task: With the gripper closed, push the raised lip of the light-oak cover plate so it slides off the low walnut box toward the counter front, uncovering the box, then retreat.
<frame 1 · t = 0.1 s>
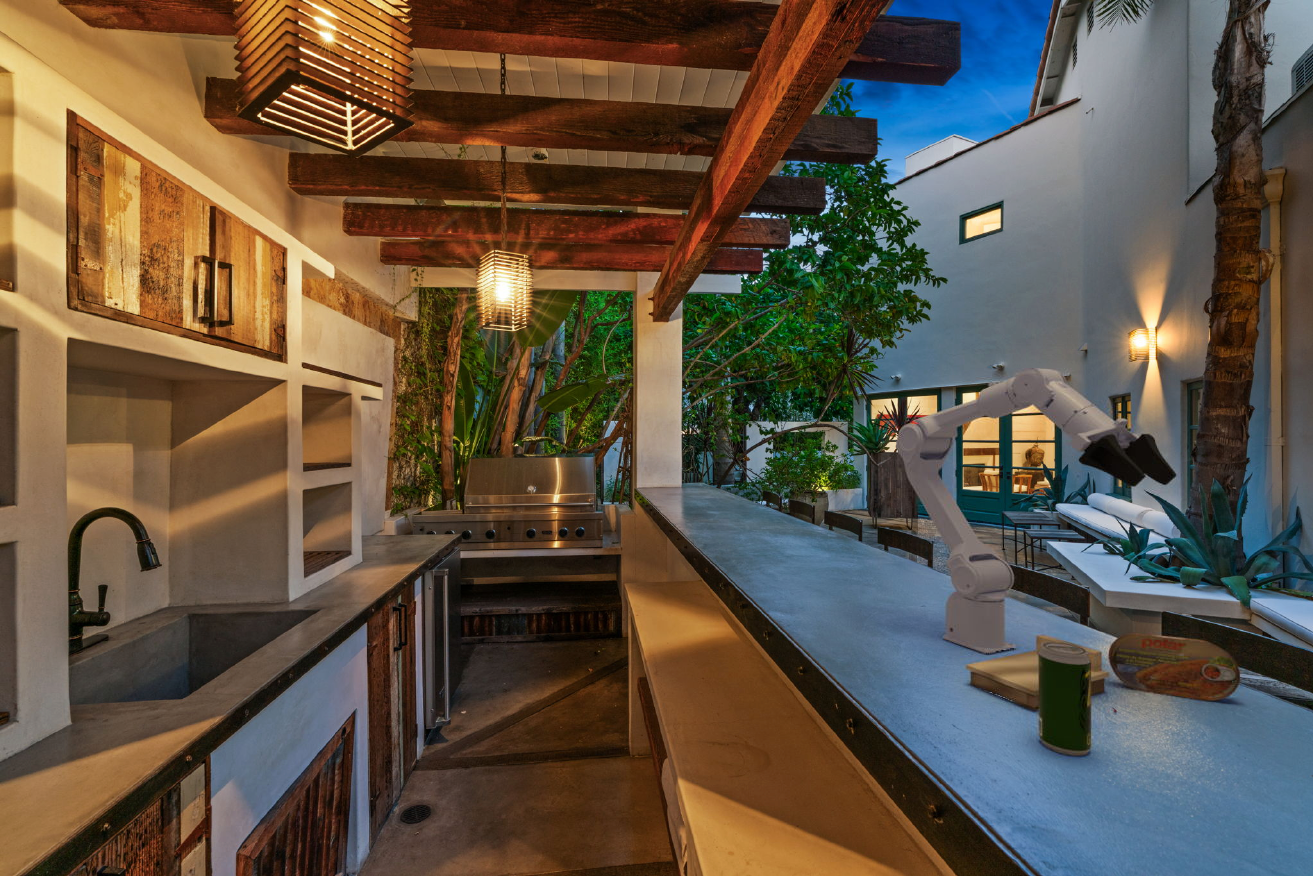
hand: (1155, 480, 87), 32 cm above the countertop, tool tilted 50°, fingers open, 7 cm apart
beer can: (1064, 747, 75), on the countertop
cover plate: (1036, 661, 92), point 4 cm above the countertop, slide at 0.0 cm
box: (1036, 688, 92), on the countertop
tin: (1170, 694, 91), on the countertop
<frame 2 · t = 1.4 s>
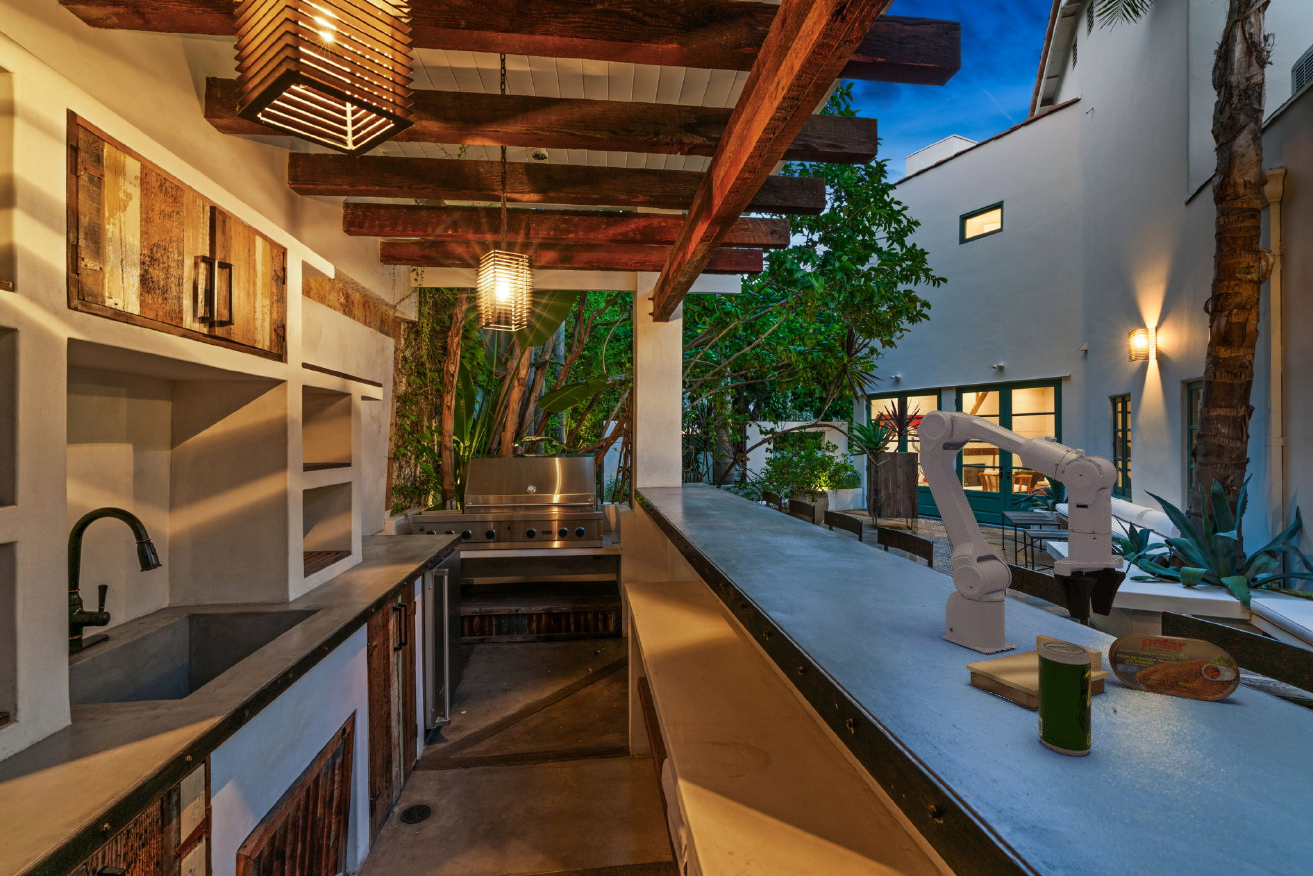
hand: (1089, 616, 98), 9 cm above the countertop, tool pointing down, fingers open, 5 cm apart
nothing on the countertop moved.
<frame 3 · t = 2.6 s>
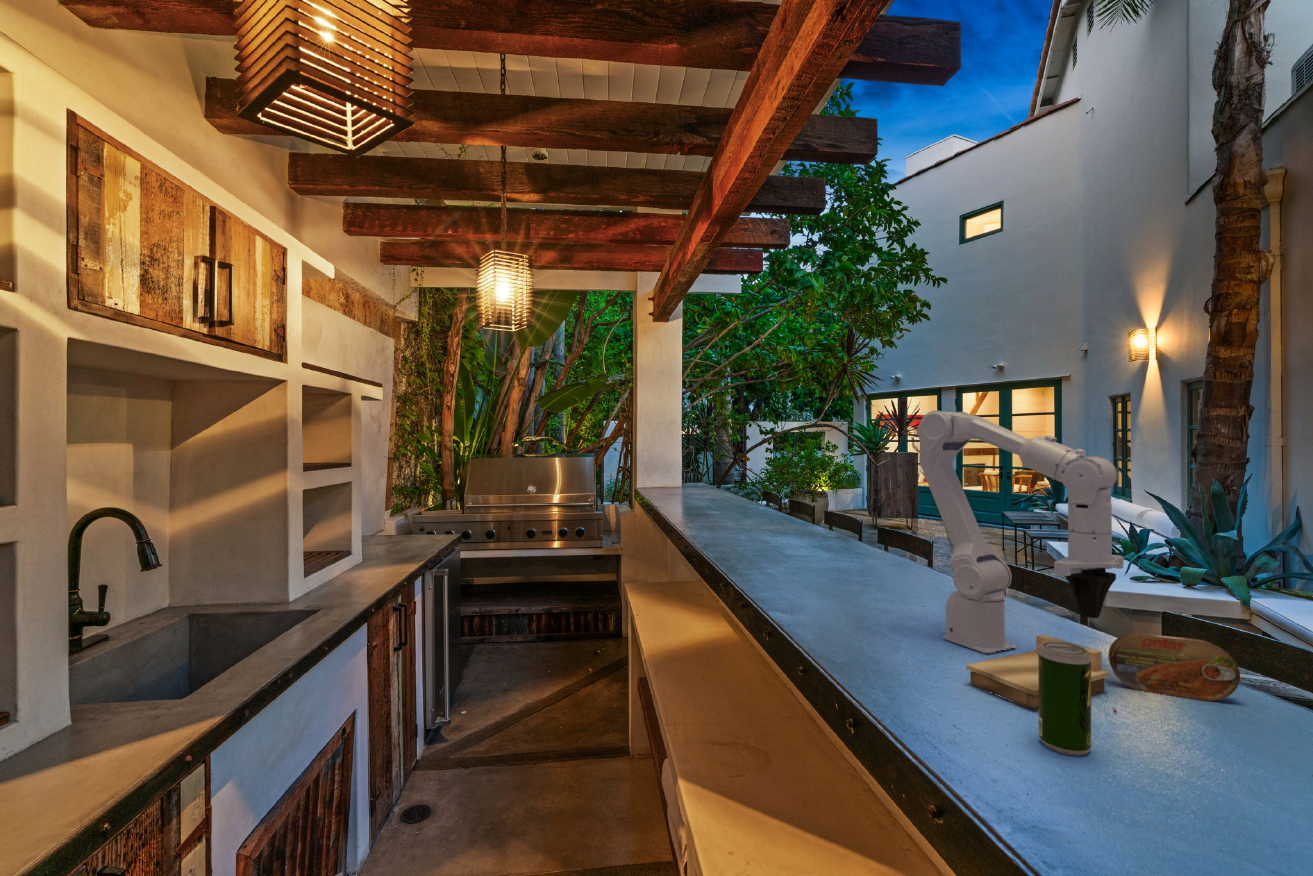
hand: (1089, 616, 98), 9 cm above the countertop, tool pointing down, fingers closed
nothing on the countertop moved.
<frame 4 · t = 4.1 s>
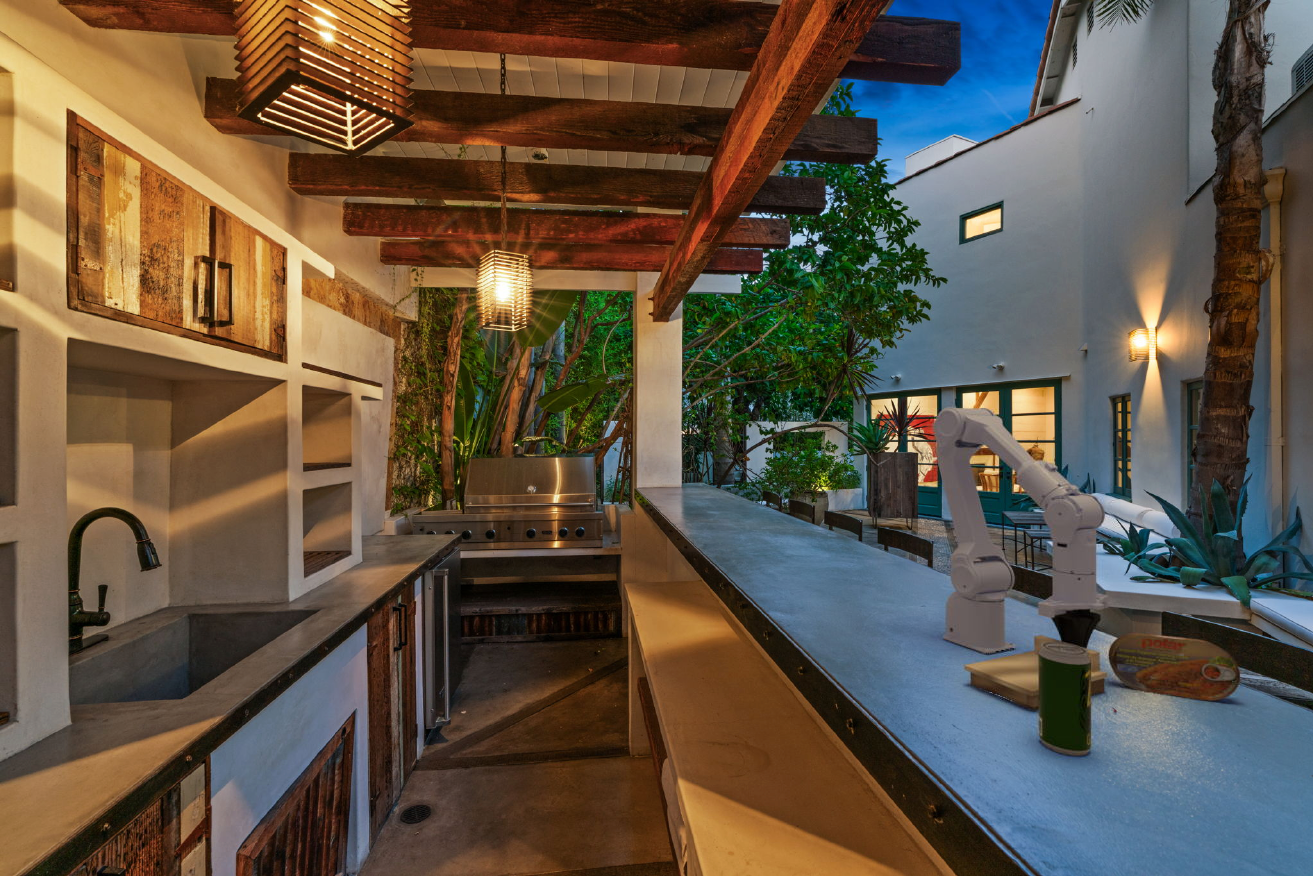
hand: (1074, 657, 96), 3 cm above the countertop, tool pointing down, fingers closed
cover plate: (1034, 662, 92), point 4 cm above the countertop, slide at 0.5 cm, touching gripper
everything else where it was.
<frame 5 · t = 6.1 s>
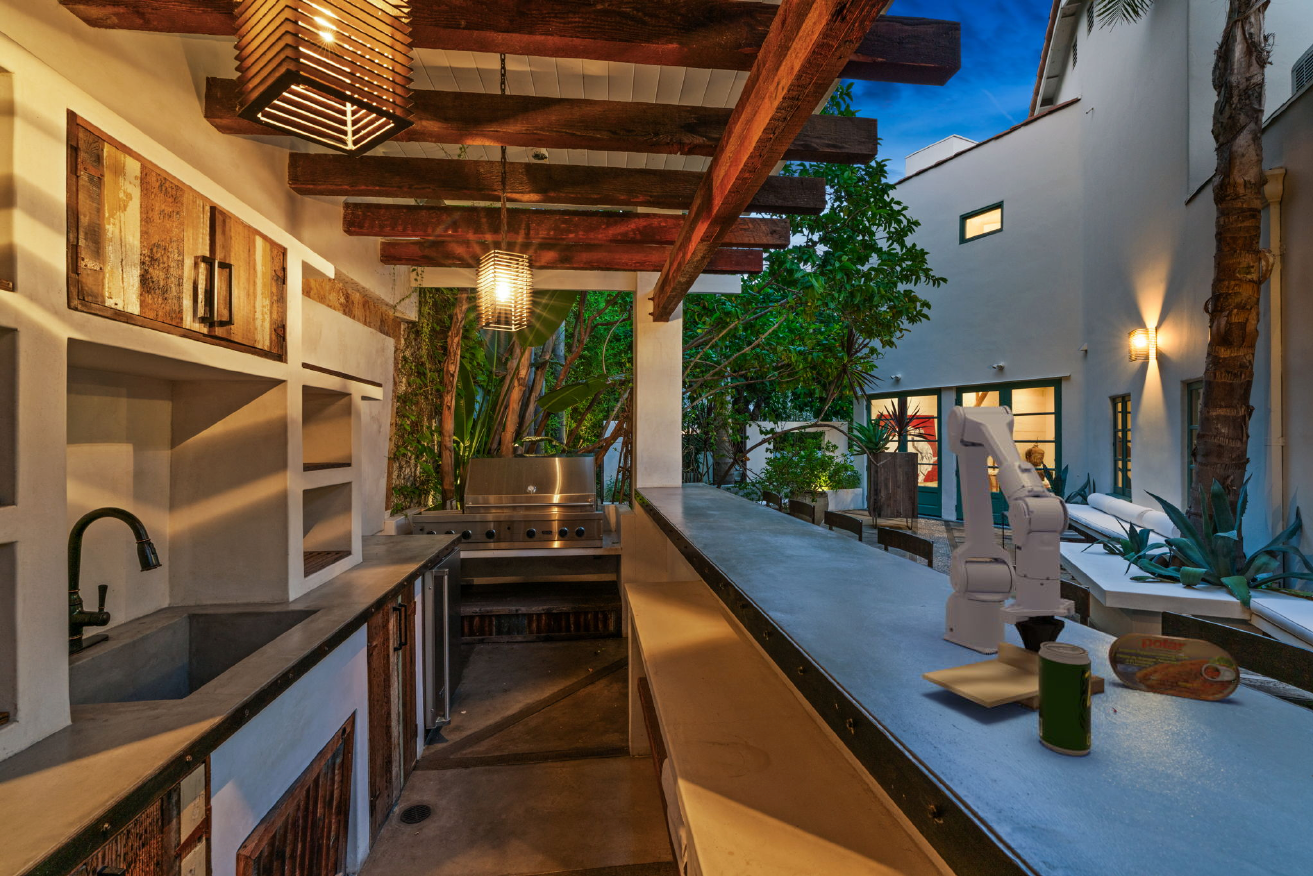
hand: (1038, 665, 92), 3 cm above the countertop, tool pointing down, fingers closed
cover plate: (994, 670, 89), point 4 cm above the countertop, slide at 9.2 cm, touching gripper
everything else where it was.
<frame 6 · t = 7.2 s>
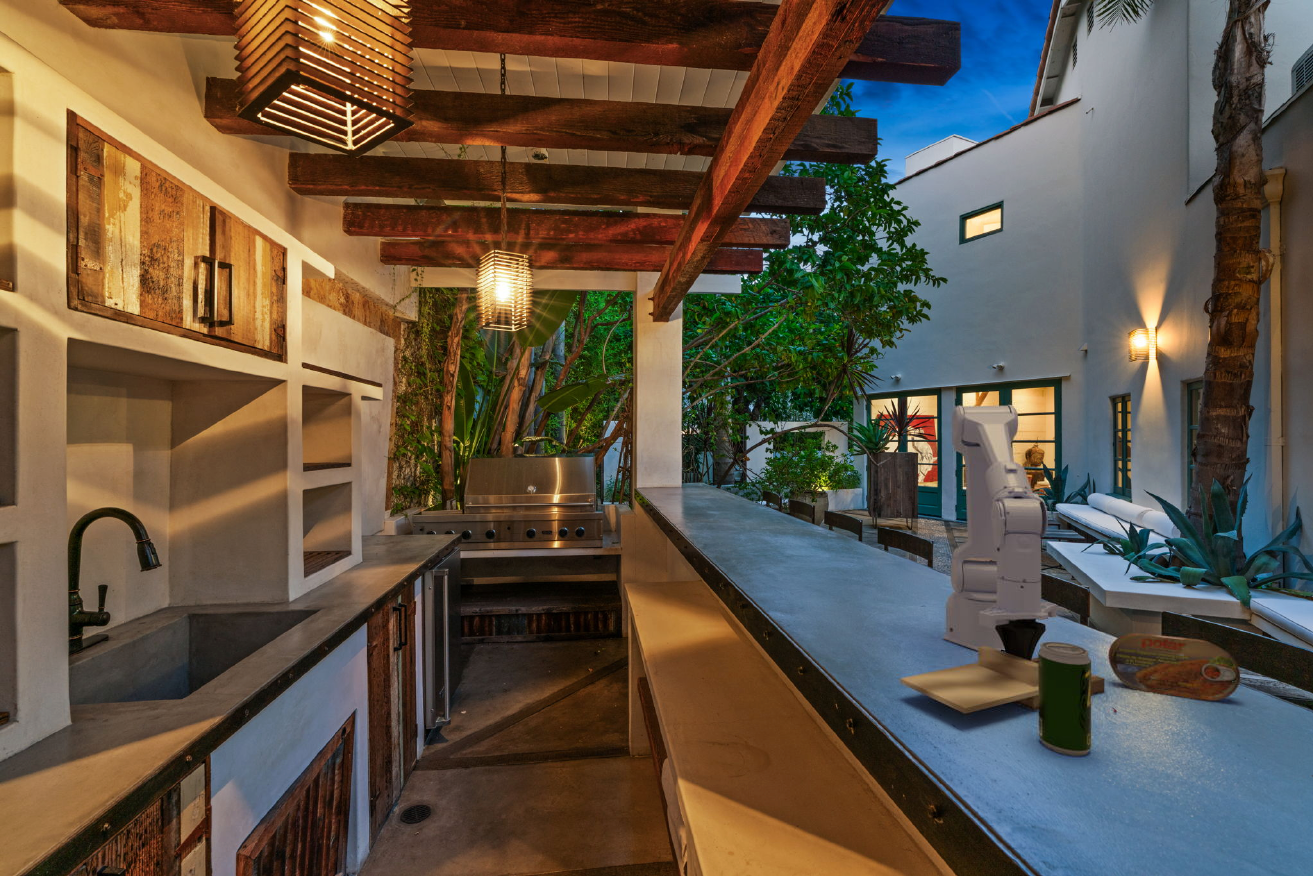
hand: (1018, 669, 91), 3 cm above the countertop, tool pointing down, fingers closed
cover plate: (973, 675, 87), point 4 cm above the countertop, slide at 13.5 cm, touching gripper
everything else where it was.
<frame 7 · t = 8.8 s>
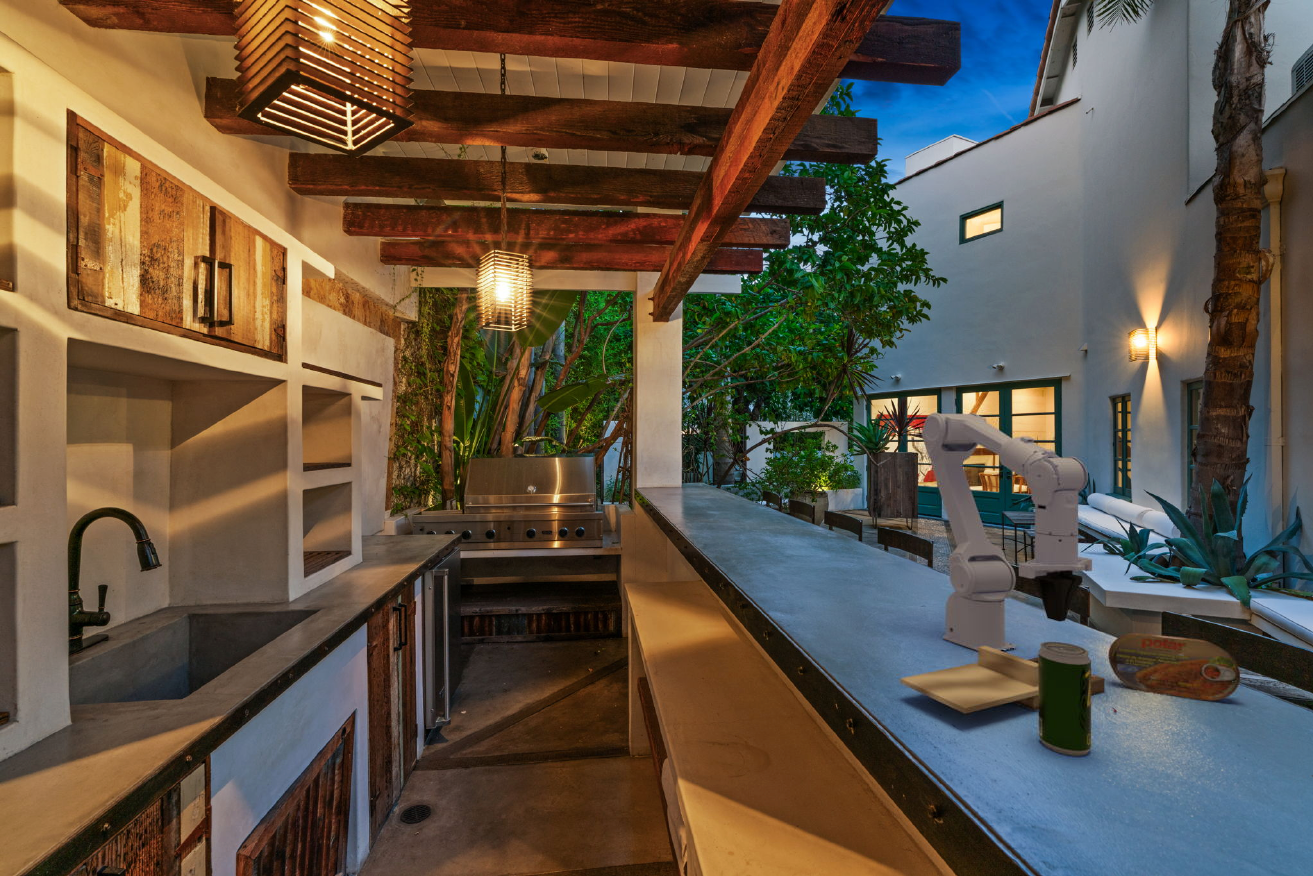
hand: (1056, 619, 96), 9 cm above the countertop, tool pointing down, fingers closed
cover plate: (973, 675, 87), point 4 cm above the countertop, slide at 13.5 cm
everything else where it was.
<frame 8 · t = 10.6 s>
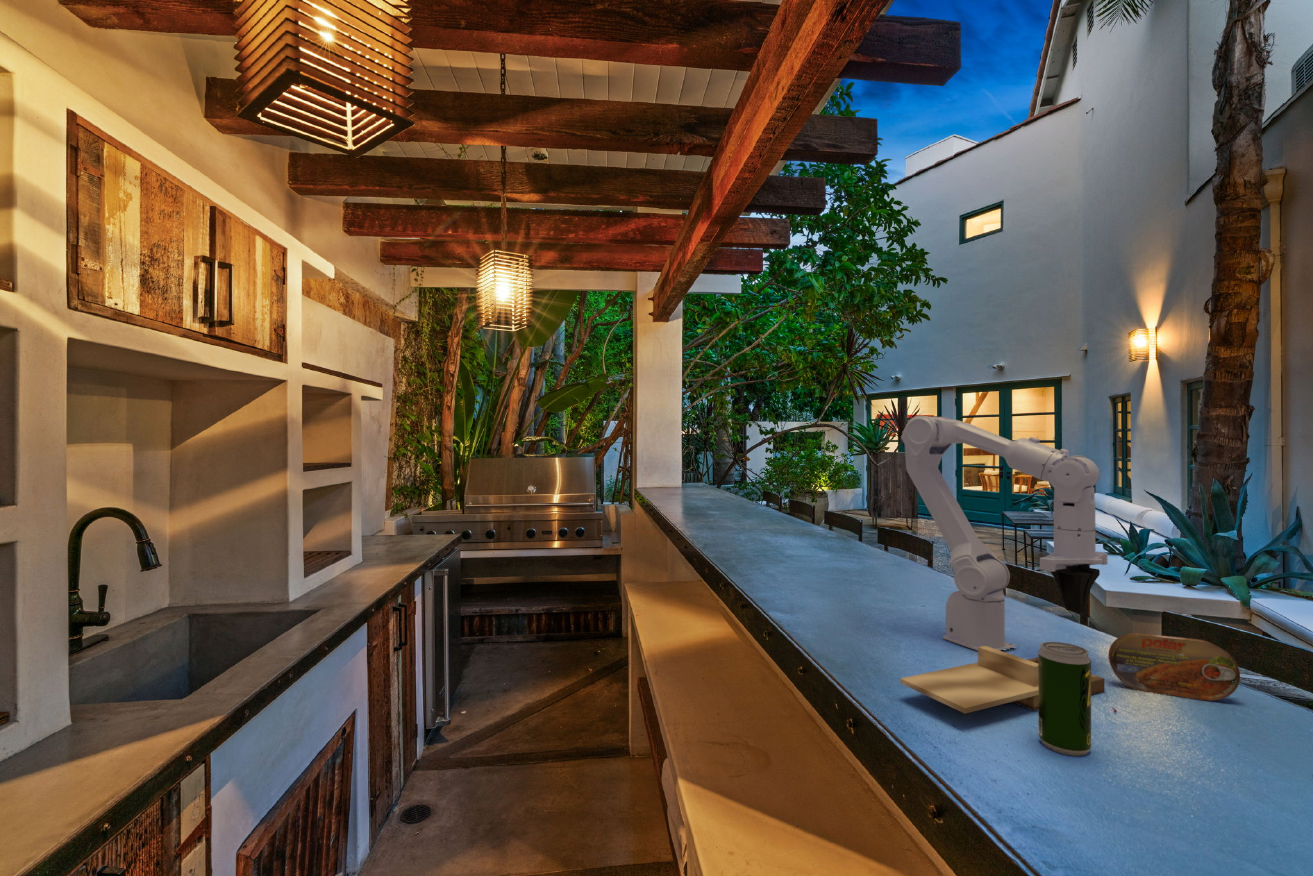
hand: (1074, 611, 101), 9 cm above the countertop, tool pointing down, fingers closed
nothing on the countertop moved.
at the end: cover plate slide at 13.5 cm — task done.
